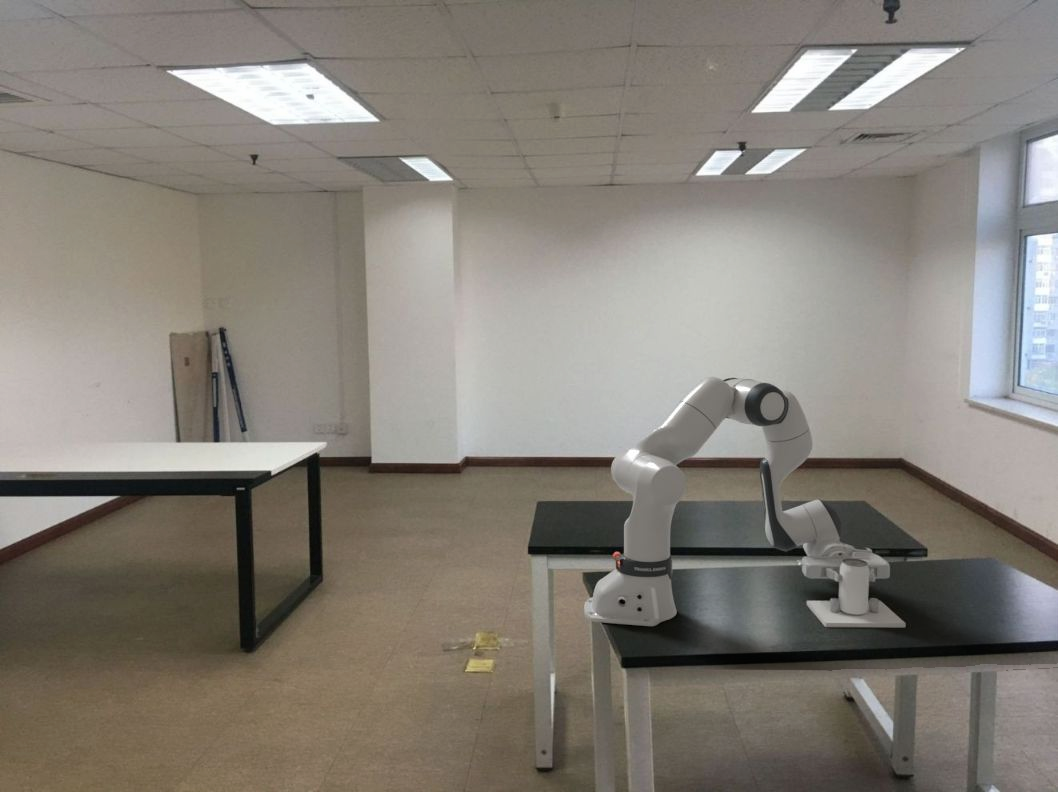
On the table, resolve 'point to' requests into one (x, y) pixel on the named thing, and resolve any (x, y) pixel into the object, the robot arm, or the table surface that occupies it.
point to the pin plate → (873, 617)
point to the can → (854, 586)
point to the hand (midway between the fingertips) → (856, 578)
